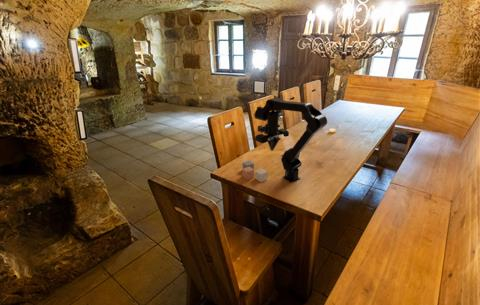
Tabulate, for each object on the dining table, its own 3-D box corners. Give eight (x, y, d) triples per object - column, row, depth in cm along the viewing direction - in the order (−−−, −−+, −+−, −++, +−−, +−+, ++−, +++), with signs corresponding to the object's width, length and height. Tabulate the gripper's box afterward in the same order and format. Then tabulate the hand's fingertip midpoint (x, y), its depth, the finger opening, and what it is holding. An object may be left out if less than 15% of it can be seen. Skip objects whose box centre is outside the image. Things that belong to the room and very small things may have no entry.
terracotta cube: (254, 177, 138) (254, 169, 136) (247, 179, 136) (247, 172, 134) (249, 173, 141) (249, 166, 139) (242, 176, 139) (242, 168, 137)
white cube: (267, 179, 135) (267, 172, 133) (260, 182, 133) (260, 174, 131) (262, 176, 139) (262, 168, 137) (255, 178, 136) (255, 171, 135)
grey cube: (253, 170, 144) (253, 163, 143) (247, 172, 142) (247, 165, 140) (249, 167, 148) (249, 160, 146) (242, 169, 146) (242, 162, 144)
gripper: (276, 115, 144) (275, 141, 150) (248, 122, 134) (249, 149, 141) (290, 120, 135) (288, 148, 141) (261, 127, 126) (261, 156, 132)
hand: (271, 150), depth 139 cm, fingers closed
